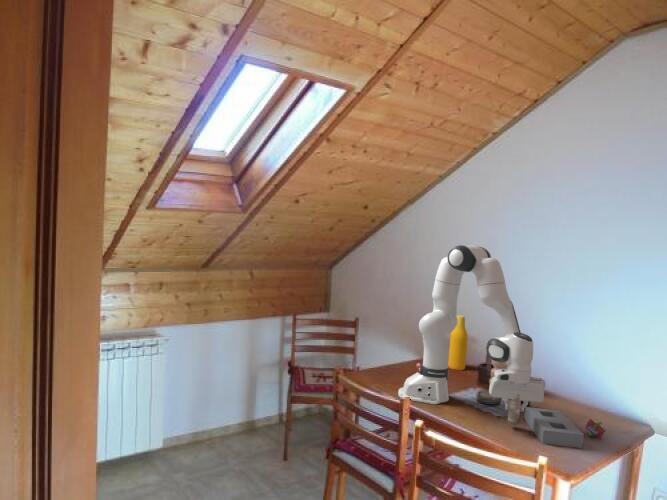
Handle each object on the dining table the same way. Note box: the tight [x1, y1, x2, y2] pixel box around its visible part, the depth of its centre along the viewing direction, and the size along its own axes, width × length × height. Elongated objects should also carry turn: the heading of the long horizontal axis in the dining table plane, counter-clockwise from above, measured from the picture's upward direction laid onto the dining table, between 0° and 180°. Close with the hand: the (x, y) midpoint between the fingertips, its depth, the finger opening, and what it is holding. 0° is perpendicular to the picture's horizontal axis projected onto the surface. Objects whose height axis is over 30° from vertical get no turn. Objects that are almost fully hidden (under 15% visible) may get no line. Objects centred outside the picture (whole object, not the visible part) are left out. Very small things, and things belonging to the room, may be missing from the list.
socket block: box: [524, 406, 585, 449], centre depth 195 cm, size 14×24×5 cm, turn 174°
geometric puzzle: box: [585, 418, 606, 441], centre depth 193 cm, size 7×7×8 cm
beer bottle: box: [448, 314, 468, 371], centre depth 278 cm, size 9×9×29 cm
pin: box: [507, 394, 521, 426], centre depth 196 cm, size 4×4×12 cm
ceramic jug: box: [488, 360, 507, 385], centre depth 245 cm, size 18×14×14 cm
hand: (514, 410), depth 196 cm, fingers closed on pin, 4 cm apart
